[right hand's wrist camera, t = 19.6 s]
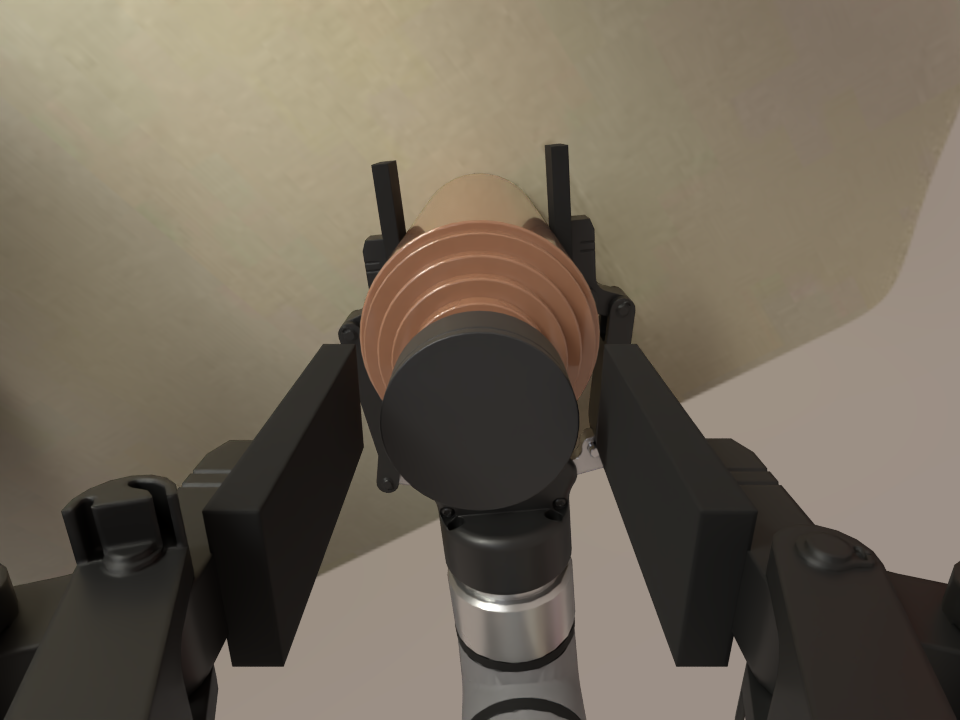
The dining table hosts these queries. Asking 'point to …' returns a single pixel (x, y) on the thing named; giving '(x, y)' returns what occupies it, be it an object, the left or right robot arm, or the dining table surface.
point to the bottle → (479, 277)
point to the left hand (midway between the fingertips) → (469, 154)
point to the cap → (479, 411)
